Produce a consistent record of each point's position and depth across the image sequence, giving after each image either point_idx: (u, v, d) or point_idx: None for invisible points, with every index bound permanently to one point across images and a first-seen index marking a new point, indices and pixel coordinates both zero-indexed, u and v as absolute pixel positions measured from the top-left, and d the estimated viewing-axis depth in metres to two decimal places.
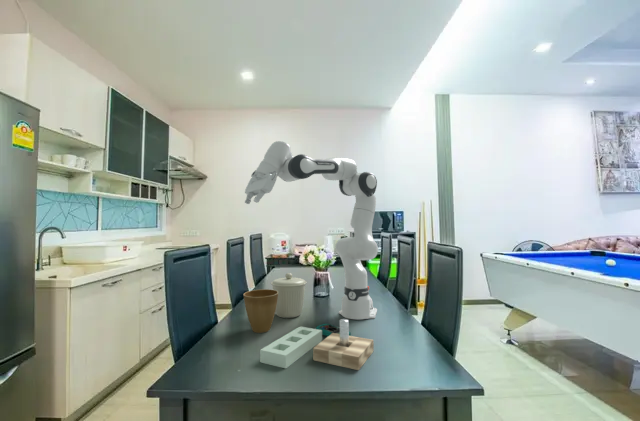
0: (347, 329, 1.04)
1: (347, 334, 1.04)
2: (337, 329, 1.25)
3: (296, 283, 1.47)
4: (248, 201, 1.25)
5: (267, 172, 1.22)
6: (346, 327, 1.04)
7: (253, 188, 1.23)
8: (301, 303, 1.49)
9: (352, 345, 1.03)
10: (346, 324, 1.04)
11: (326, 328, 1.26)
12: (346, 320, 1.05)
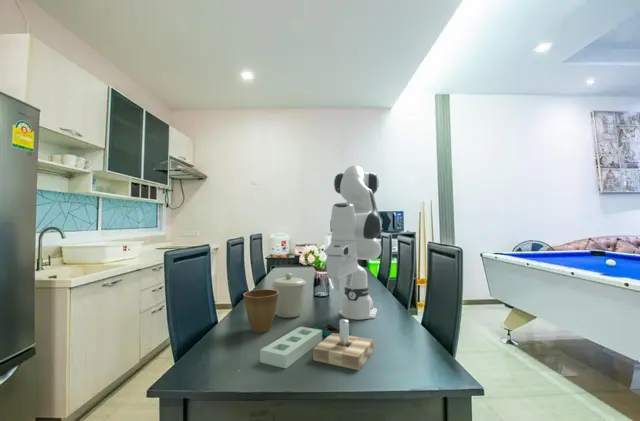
0: (347, 329, 1.04)
1: (347, 334, 1.04)
2: (337, 329, 1.25)
3: (296, 283, 1.47)
4: None
5: None
6: (346, 327, 1.04)
7: (347, 272, 1.05)
8: (301, 303, 1.49)
9: (352, 345, 1.03)
10: (346, 324, 1.04)
11: (326, 328, 1.26)
12: (346, 320, 1.05)
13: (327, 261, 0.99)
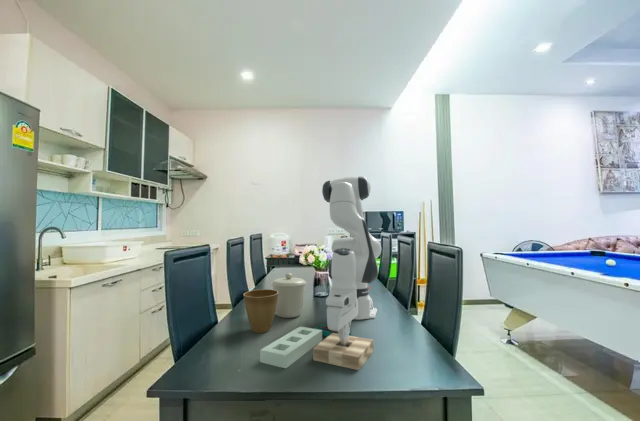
0: (347, 329, 1.04)
1: (347, 334, 1.04)
2: None
3: (296, 283, 1.47)
4: None
5: None
6: (346, 327, 1.04)
7: (348, 320, 1.04)
8: (301, 303, 1.49)
9: (352, 345, 1.03)
10: (346, 324, 1.04)
11: (325, 329, 1.26)
12: None
13: (327, 312, 0.98)
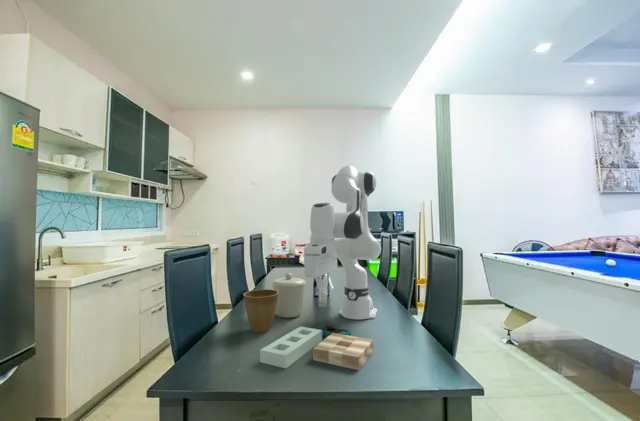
0: (325, 279, 1.06)
1: (325, 284, 1.06)
2: (336, 329, 1.25)
3: (296, 283, 1.47)
4: None
5: None
6: (324, 277, 1.06)
7: (326, 271, 1.07)
8: (301, 303, 1.49)
9: (352, 345, 1.03)
10: (324, 275, 1.06)
11: (325, 329, 1.25)
12: None
13: (305, 260, 1.00)
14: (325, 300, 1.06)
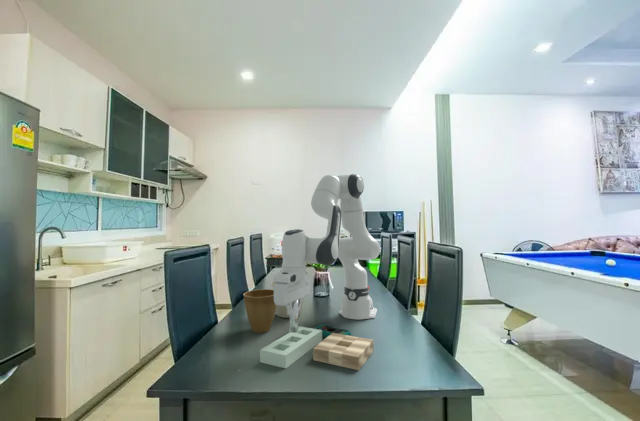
0: (296, 306, 1.09)
1: (296, 310, 1.08)
2: (336, 329, 1.24)
3: None
4: None
5: None
6: (295, 304, 1.08)
7: (297, 297, 1.09)
8: (301, 303, 1.49)
9: (352, 345, 1.03)
10: (295, 301, 1.08)
11: (325, 329, 1.25)
12: None
13: (274, 288, 1.02)
14: (296, 326, 1.08)
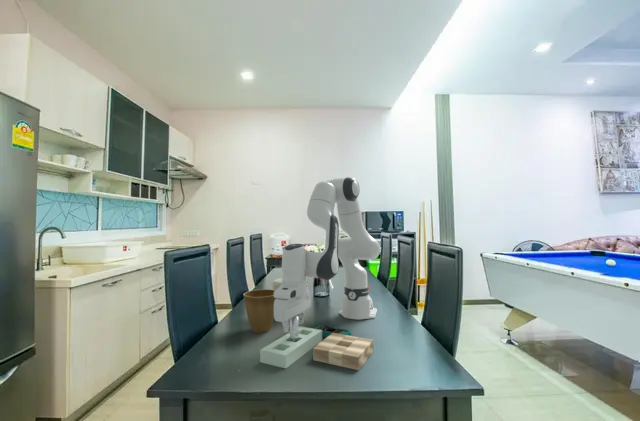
0: (296, 325, 1.08)
1: (296, 330, 1.08)
2: (336, 329, 1.24)
3: None
4: None
5: None
6: (295, 323, 1.08)
7: (297, 312, 1.08)
8: None
9: (352, 345, 1.03)
10: (295, 320, 1.08)
11: (325, 329, 1.25)
12: (296, 316, 1.09)
13: (274, 304, 1.02)
14: None
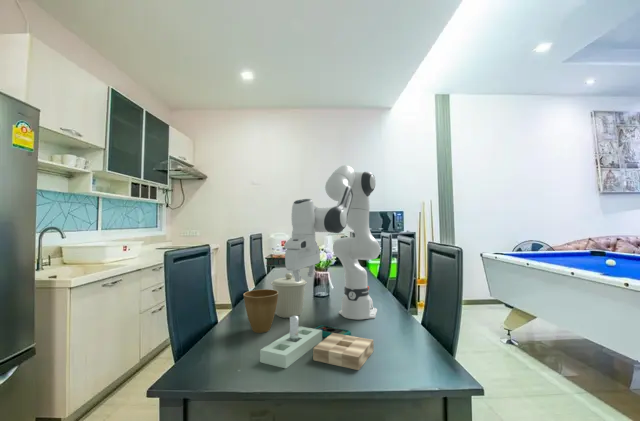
0: (296, 325, 1.08)
1: (296, 330, 1.08)
2: (336, 330, 1.24)
3: (296, 283, 1.47)
4: None
5: None
6: (295, 323, 1.08)
7: (307, 264, 1.12)
8: (301, 303, 1.49)
9: (352, 345, 1.03)
10: (295, 320, 1.08)
11: (325, 330, 1.24)
12: (296, 316, 1.09)
13: (286, 254, 1.06)
14: None
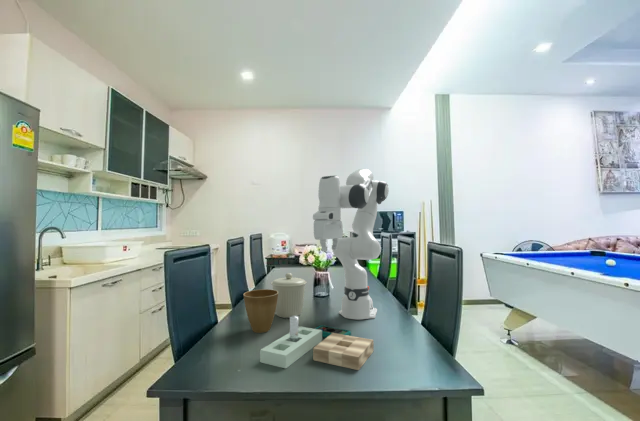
0: (296, 325, 1.08)
1: (296, 330, 1.08)
2: (336, 330, 1.24)
3: (296, 283, 1.47)
4: None
5: None
6: (295, 323, 1.08)
7: (333, 236, 1.19)
8: (301, 303, 1.49)
9: (352, 345, 1.03)
10: (295, 320, 1.08)
11: (325, 330, 1.24)
12: (296, 316, 1.09)
13: (314, 224, 1.12)
14: None
